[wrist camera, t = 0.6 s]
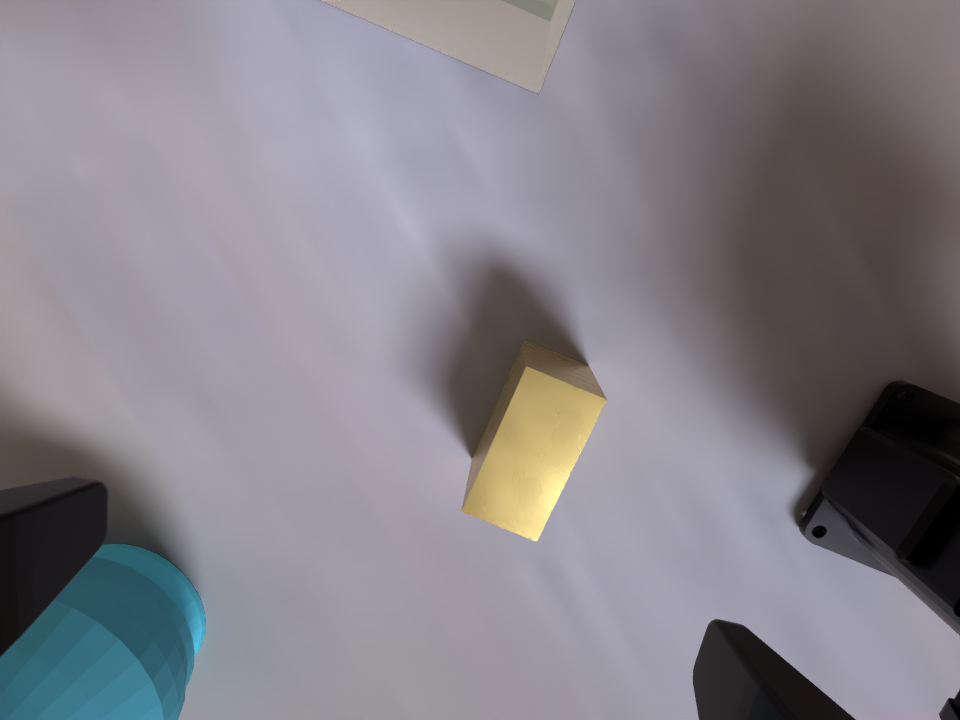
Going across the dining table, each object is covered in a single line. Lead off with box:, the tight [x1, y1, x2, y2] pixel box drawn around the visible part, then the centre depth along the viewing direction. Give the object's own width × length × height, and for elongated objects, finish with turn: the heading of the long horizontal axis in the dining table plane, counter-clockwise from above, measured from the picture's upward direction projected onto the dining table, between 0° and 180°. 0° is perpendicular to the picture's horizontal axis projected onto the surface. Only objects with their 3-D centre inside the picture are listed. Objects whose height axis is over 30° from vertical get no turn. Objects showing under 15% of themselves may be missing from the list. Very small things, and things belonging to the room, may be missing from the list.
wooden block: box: [462, 339, 607, 542], centre depth 18 cm, size 2×5×4 cm, turn 158°
